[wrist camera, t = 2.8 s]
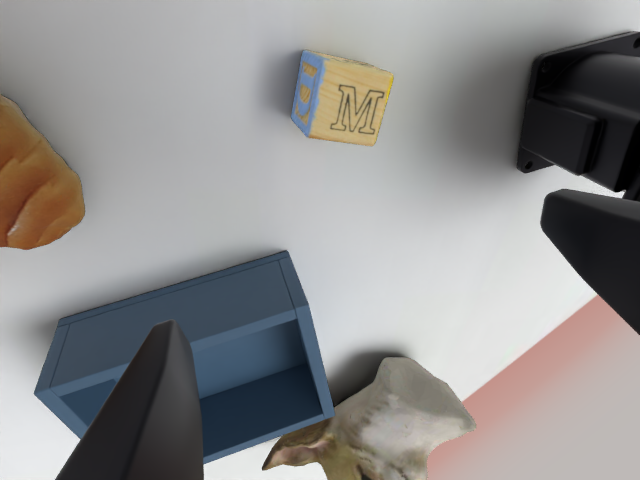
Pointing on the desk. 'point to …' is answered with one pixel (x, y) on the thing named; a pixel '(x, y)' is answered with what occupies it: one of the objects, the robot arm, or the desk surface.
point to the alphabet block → (340, 99)
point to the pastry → (33, 185)
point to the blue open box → (204, 354)
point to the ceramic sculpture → (380, 428)
